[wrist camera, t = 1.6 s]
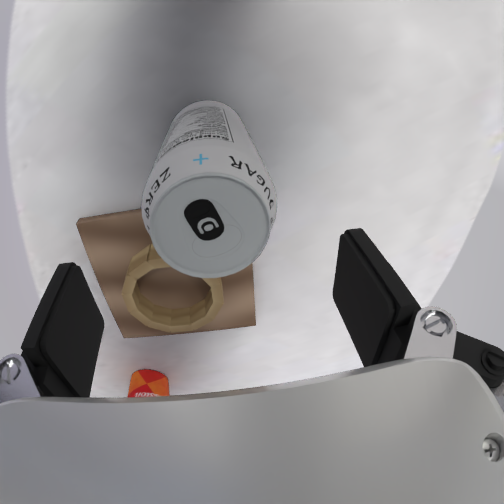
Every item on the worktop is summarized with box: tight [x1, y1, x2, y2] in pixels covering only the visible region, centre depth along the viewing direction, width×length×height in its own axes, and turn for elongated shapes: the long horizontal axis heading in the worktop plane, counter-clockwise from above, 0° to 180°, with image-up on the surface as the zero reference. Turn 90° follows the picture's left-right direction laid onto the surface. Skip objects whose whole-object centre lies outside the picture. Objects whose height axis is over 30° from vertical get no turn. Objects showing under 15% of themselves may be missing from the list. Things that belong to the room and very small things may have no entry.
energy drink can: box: [141, 100, 277, 278], centre depth 19 cm, size 6×6×15 cm
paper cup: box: [128, 369, 169, 397], centre depth 37 cm, size 8×8×14 cm
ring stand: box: [76, 209, 256, 338], centre depth 31 cm, size 16×16×4 cm
